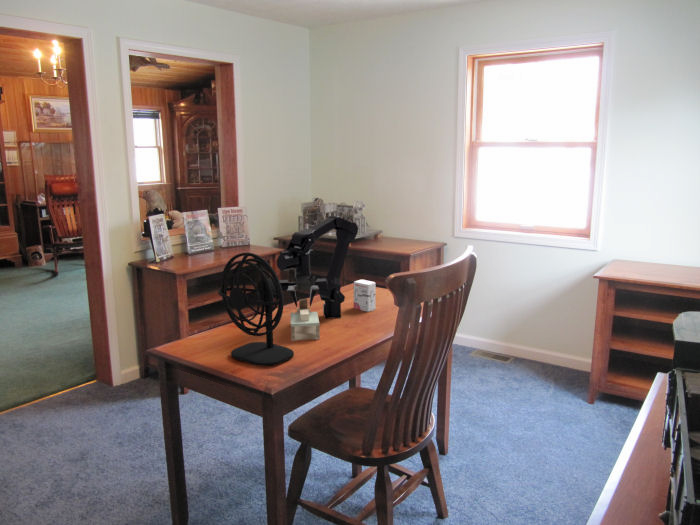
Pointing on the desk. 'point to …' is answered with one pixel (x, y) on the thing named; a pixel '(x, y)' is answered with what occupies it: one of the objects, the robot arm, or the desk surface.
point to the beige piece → (305, 331)
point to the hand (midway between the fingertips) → (303, 306)
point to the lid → (304, 318)
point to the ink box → (364, 295)
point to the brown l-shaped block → (303, 304)
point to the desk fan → (266, 292)
